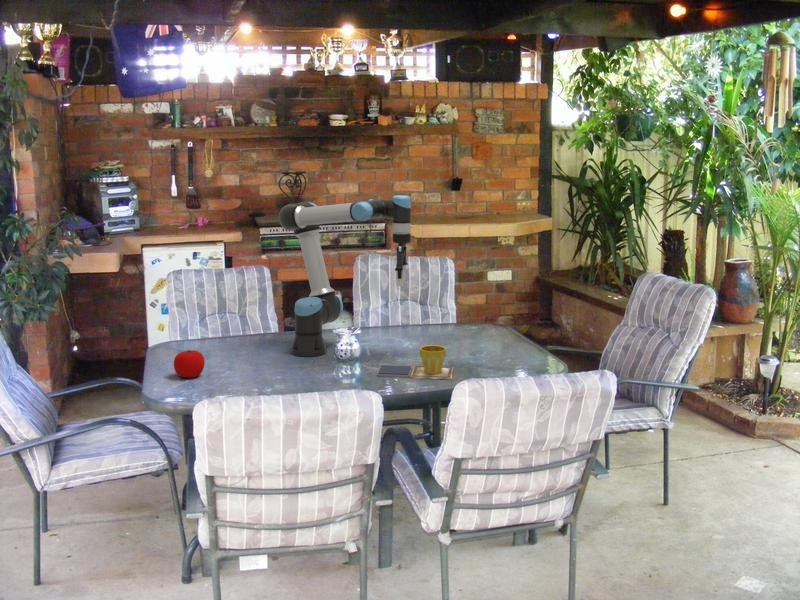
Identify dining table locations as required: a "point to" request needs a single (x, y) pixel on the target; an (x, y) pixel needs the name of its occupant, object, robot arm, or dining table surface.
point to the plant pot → (432, 358)
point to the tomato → (189, 364)
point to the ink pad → (394, 371)
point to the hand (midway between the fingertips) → (401, 283)
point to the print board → (420, 374)
